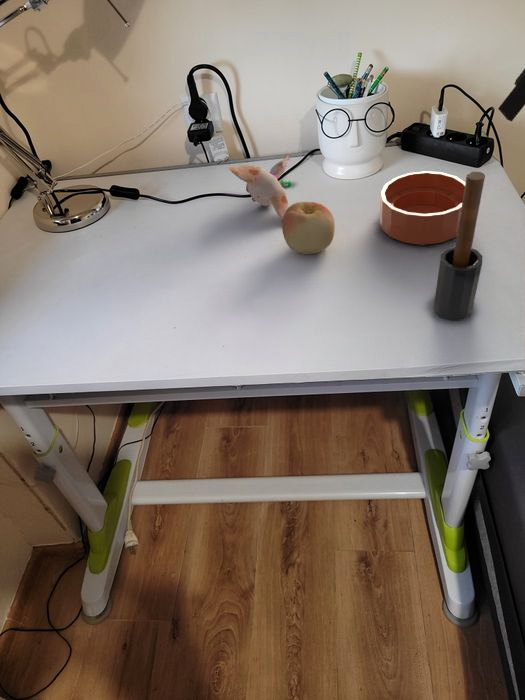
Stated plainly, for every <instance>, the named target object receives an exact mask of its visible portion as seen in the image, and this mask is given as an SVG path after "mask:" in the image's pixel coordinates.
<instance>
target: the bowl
mask: <svg viewBox="0 0 525 700" xmlns="http://www.w3.org/2000/svg"><path fill="white" fill-rule="evenodd" d="M465 182H466V181H464V180H463V179H461V178H459V177H458V176H456V175H452V174H449V173H446V172H441V171H427V170H426V171H425V170H424V171H415V172H407V173H405V174H402V175H399V176H396V177H394V178H393V179H391V180H389V181H388V182H386V183H385V184H384V185H383V187H382V189H381V191H380V194H379V224H380V228H381V230H382V231H383V232H384V233H385V234H386V235H388V236H389V237H390V238H392V239H394V240H396V241H400V242H402V243H405V244H411V245H412V244H413V245H420V246H421V245H422V246H423V245H434V244H441V243H443V242H447V241H450V240H452V239H455V238H457V232H458V226H459V219H460V213H461V207H462V201H463V195H464V189H465Z"/></svg>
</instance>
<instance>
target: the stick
mask: <svg viewBox="0 0 525 700" xmlns="http://www.w3.org/2000/svg"><path fill="white" fill-rule="evenodd" d="M485 178H486V175H485V173H484V172H481V171H470V172H468V173H467V174H466V177H465V181H464V182H465V189H464V195H463V201H462V207H461V213H460V219H459V226H458V232H457V236H456V237H455V238H456V239H455V245H454V247H455V250H454V257H453V263H452V265H454V266H456V267H468V263H469V258H470V253H471V248H472V249H473V241H474V237H475V230H476V227H477V221H478V217H479V216H478V215H479V211H480V205H481V199H482V195H483V191H484V184H485Z"/></svg>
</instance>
